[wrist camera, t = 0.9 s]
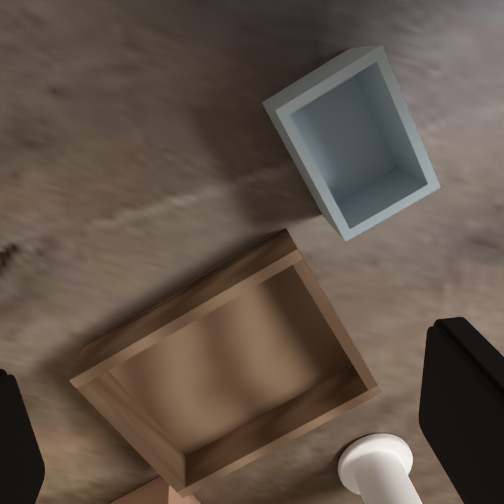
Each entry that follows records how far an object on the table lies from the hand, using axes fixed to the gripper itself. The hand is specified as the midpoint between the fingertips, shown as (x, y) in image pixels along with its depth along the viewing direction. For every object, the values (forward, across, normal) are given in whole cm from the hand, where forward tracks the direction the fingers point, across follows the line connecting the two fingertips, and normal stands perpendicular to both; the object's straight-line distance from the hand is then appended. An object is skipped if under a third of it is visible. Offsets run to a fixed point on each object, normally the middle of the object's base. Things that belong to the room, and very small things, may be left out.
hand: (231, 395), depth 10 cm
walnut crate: (+22, 0, +15) cm, 27 cm away
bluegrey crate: (+23, -8, -2) cm, 24 cm away
